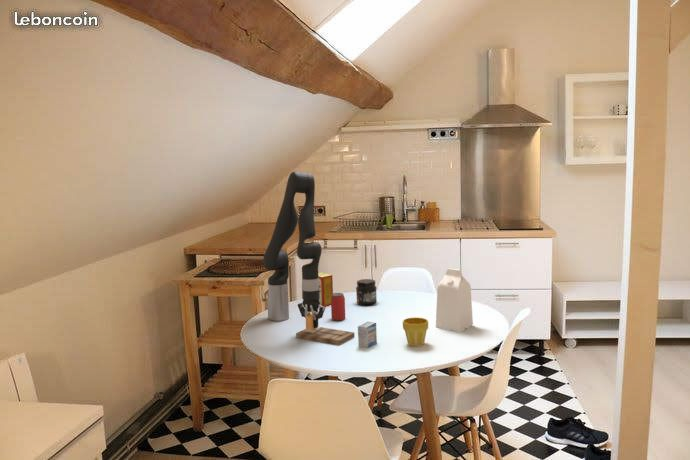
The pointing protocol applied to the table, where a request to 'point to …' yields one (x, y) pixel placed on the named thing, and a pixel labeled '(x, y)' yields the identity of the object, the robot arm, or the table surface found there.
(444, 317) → the milk
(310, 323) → the fader tab
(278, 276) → the robot arm
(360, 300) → the supplement container
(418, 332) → the plant pot
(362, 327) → the medicine box
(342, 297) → the beer can
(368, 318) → the table surface
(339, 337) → the fader board
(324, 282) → the baking soda box
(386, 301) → the table surface
